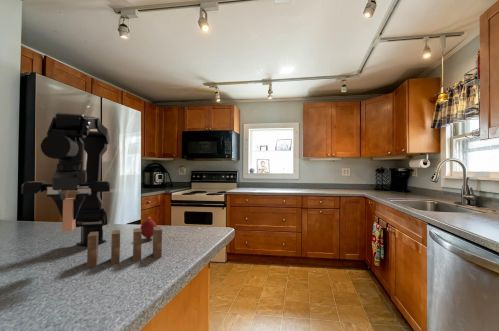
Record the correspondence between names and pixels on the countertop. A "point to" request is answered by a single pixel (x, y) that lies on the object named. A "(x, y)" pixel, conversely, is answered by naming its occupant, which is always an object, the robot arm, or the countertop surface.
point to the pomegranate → (148, 228)
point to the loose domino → (68, 214)
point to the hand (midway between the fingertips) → (69, 219)
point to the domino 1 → (92, 249)
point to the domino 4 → (157, 242)
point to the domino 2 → (115, 247)
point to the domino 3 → (137, 244)
